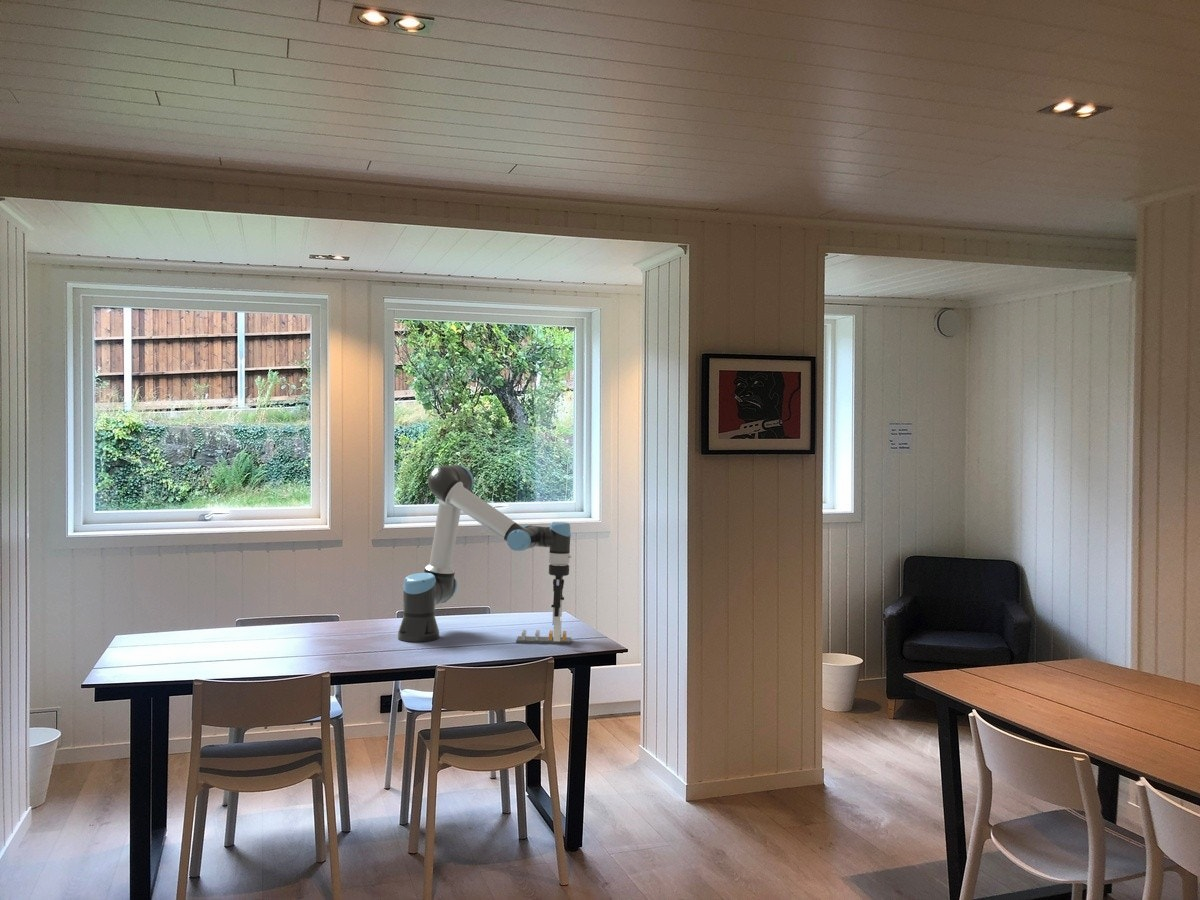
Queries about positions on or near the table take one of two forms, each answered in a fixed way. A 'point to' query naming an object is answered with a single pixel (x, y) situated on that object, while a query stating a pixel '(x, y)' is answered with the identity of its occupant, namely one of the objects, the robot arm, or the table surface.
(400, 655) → the table surface
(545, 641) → the rack
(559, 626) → the panel
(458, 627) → the table surface
